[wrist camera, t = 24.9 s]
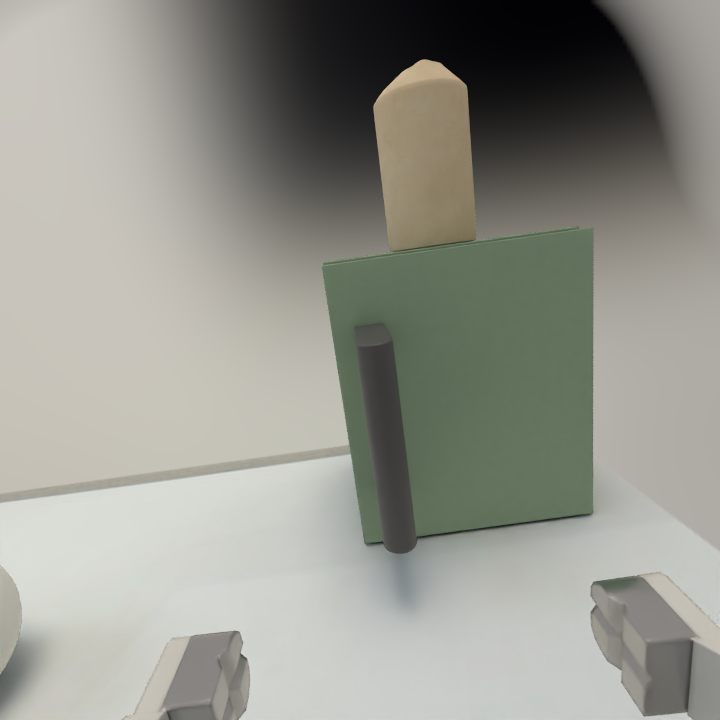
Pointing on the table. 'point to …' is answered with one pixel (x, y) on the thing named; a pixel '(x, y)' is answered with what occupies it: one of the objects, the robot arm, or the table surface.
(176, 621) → the table surface
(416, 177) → the candle
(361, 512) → the door
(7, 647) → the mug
